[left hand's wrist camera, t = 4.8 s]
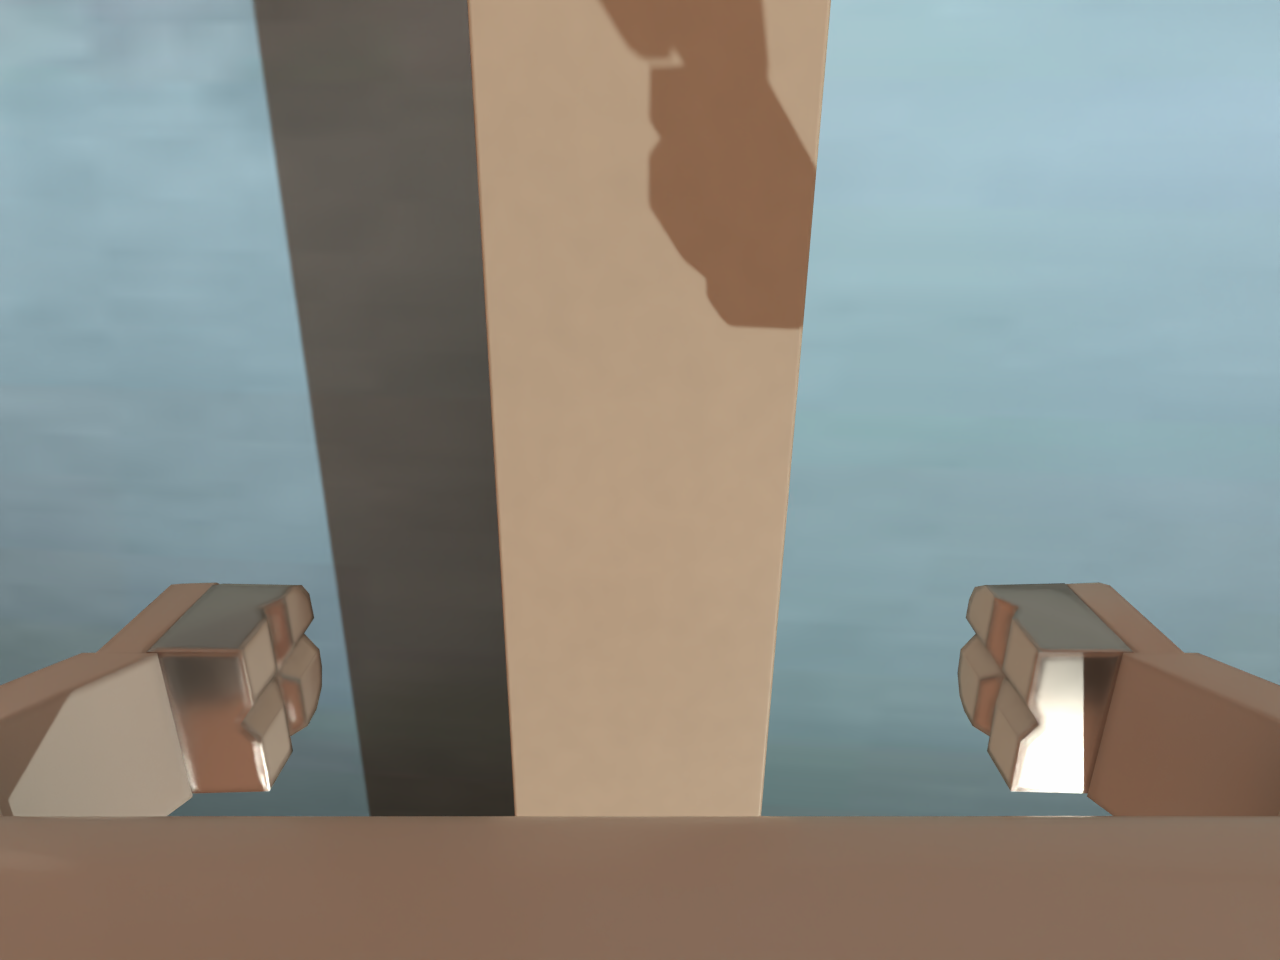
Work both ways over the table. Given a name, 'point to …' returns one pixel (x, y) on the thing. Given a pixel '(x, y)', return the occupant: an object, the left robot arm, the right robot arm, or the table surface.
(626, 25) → the beam
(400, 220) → the table surface
